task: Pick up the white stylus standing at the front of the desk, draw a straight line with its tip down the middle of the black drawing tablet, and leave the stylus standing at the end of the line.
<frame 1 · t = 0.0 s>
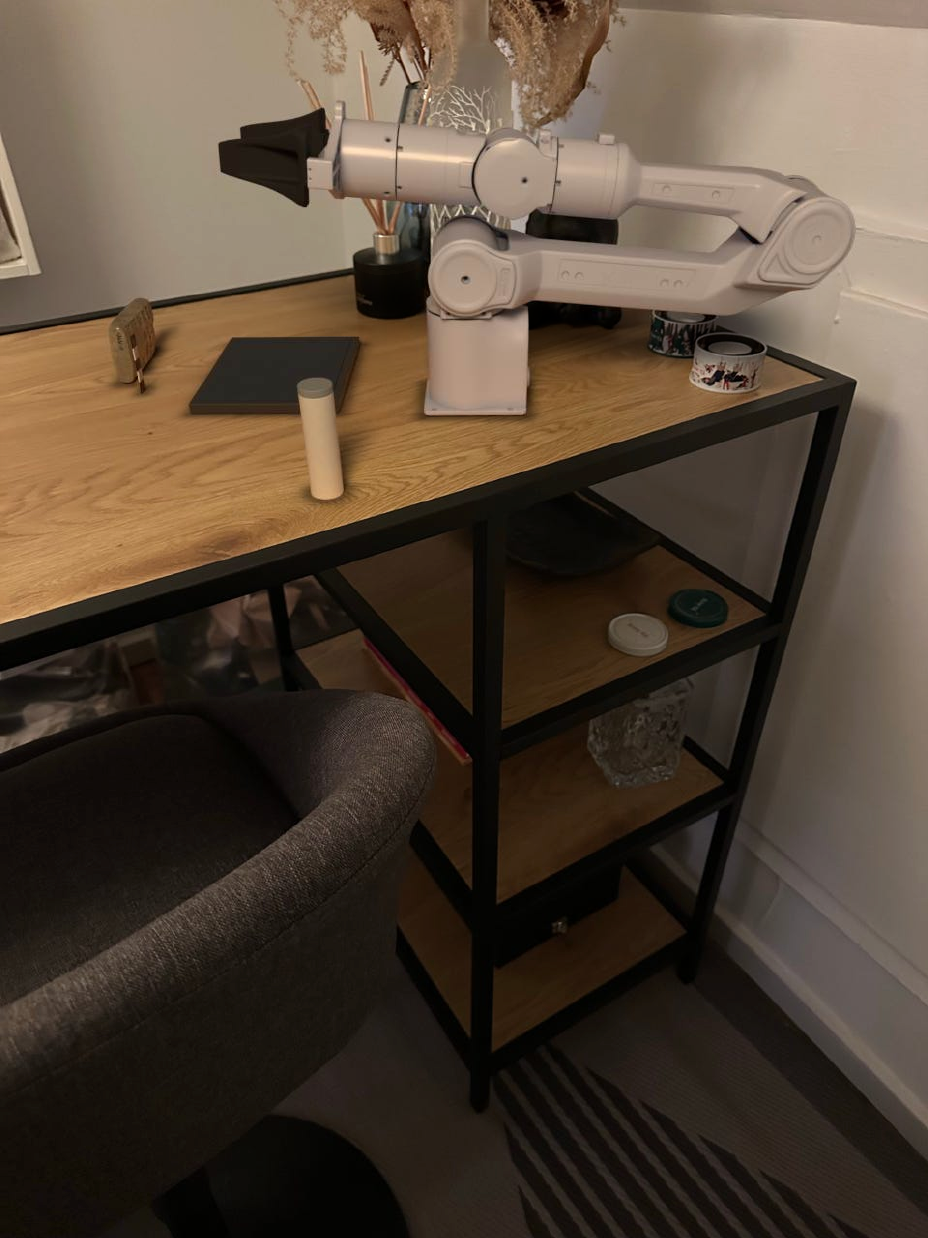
hand: (231, 148, 71), 22 cm above the table, tool horizontal, fingers open, 7 cm apart
stylus: (327, 491, 69), on the table
cuneiform tablet: (142, 372, 91), on the table
drawing tablet: (281, 376, 89), on the table
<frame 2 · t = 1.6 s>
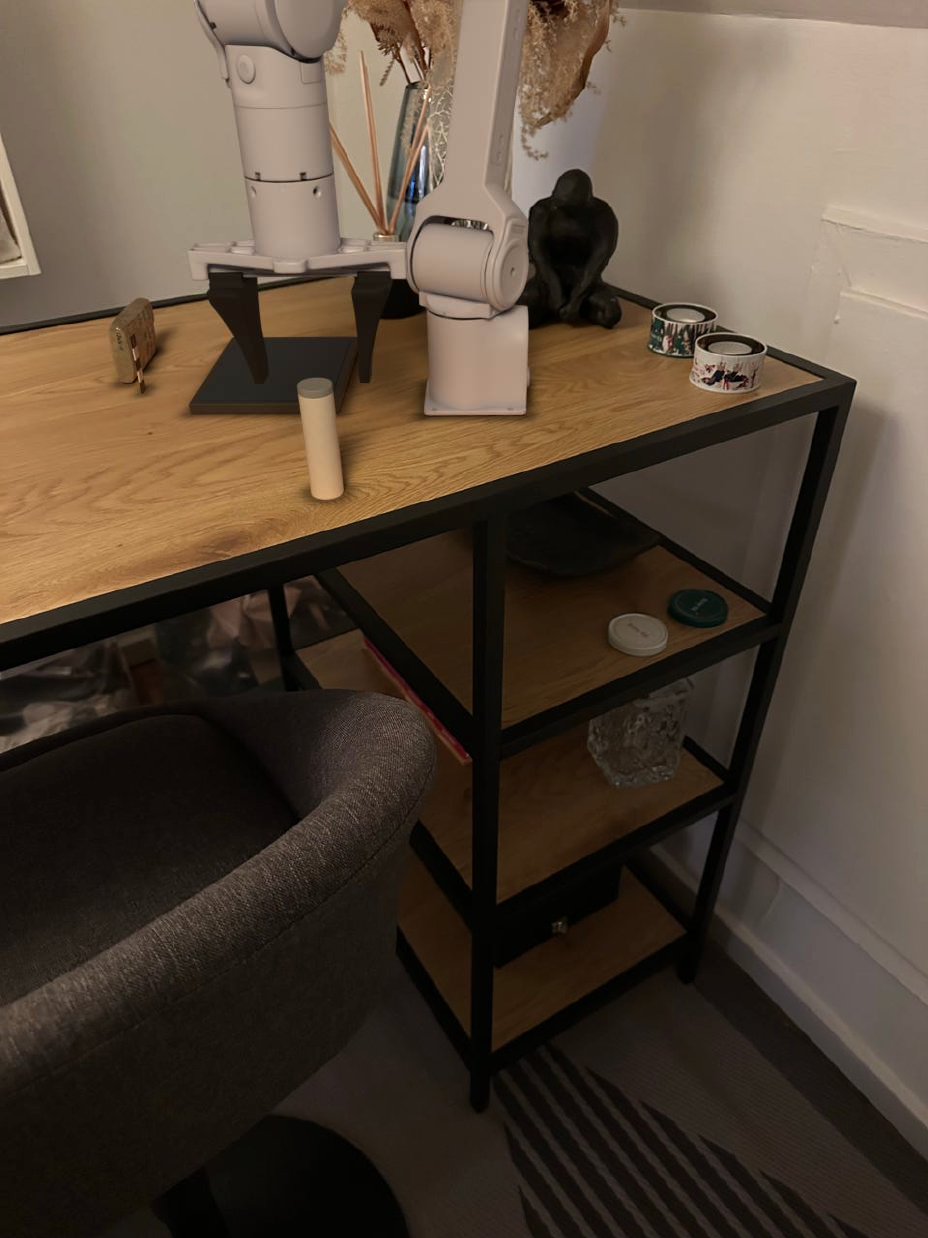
hand: (313, 378, 64), 9 cm above the table, tool pointing down, fingers open, 7 cm apart
nothing on the table moved.
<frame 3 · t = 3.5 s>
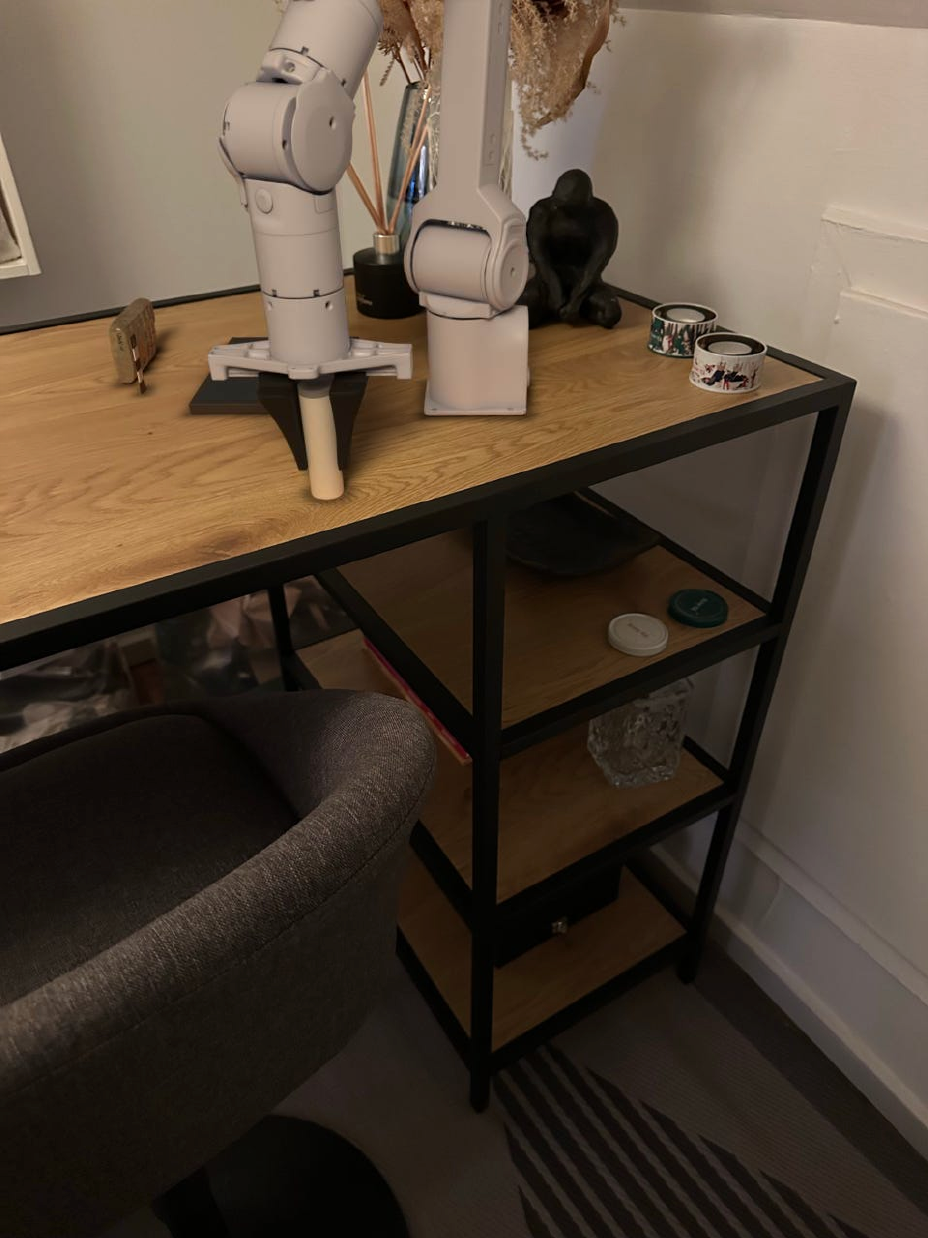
hand: (324, 464, 68), 2 cm above the table, tool pointing down, fingers closed on stylus, 2 cm apart
stylus: (328, 491, 69), on the table, touching gripper
everything else where it was.
when the fingers open (3 cm above the table, at t = 11.2 s): stylus stays where it is, resting on drawing tablet.
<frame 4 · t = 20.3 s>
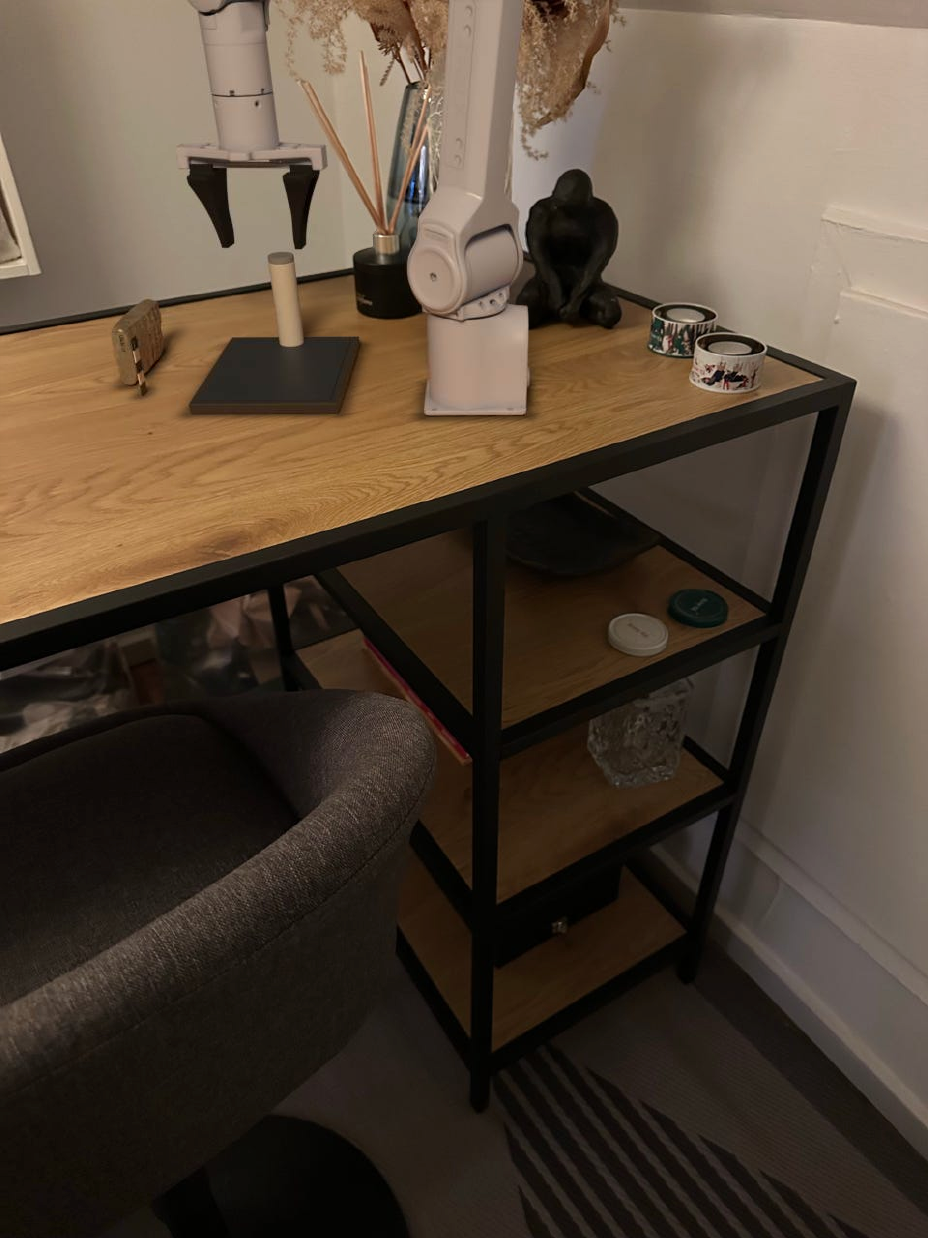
hand: (264, 246, 90), 10 cm above the table, tool pointing down, fingers open, 7 cm apart
stylus: (292, 342, 93), point 1 cm above the table, touching drawing tablet
everything else where it was.
at the end: stylus 0.0 cm from the target spot on the drawing tablet, point 1.1 cm above the drawing tablet's base; stylus tilted 0°; stylus moved 31.8 cm from its start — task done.
